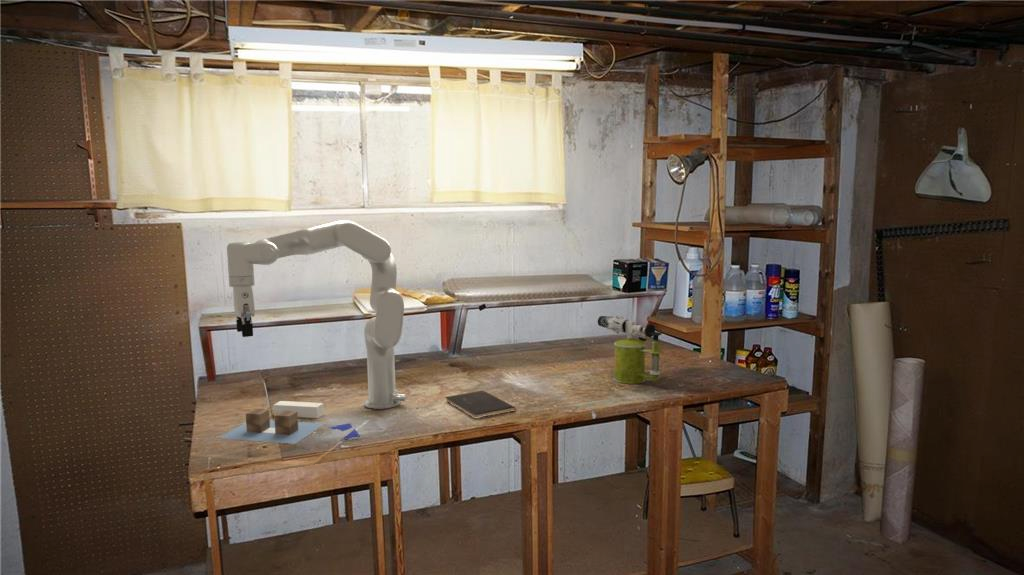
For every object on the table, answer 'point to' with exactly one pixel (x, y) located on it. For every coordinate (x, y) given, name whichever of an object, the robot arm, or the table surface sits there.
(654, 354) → the blowtorch
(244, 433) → the board
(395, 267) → the robot arm
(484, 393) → the hardcover book
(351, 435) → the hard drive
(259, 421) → the post
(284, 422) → the post
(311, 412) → the beam
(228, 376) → the table surface
